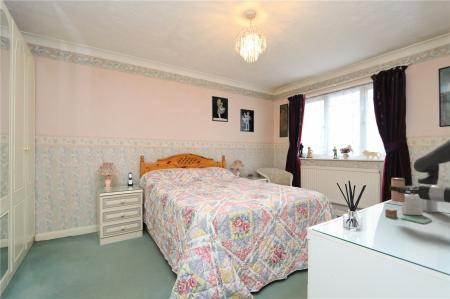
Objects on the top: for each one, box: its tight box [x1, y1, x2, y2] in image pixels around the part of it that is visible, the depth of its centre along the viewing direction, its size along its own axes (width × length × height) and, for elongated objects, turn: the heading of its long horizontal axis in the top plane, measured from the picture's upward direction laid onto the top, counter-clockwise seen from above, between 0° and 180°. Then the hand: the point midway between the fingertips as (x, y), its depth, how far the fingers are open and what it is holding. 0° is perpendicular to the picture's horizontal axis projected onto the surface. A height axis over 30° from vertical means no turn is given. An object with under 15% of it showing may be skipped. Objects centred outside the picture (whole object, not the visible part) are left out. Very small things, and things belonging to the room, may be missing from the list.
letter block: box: [384, 208, 398, 219], centre depth 126 cm, size 4×4×4 cm
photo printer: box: [401, 194, 424, 216], centre depth 131 cm, size 10×4×12 cm, turn 84°
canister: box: [390, 177, 406, 203], centre depth 117 cm, size 6×6×12 cm
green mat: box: [400, 215, 433, 225], centre depth 119 cm, size 10×10×1 cm
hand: (392, 187), depth 119 cm, fingers closed on canister, 5 cm apart
